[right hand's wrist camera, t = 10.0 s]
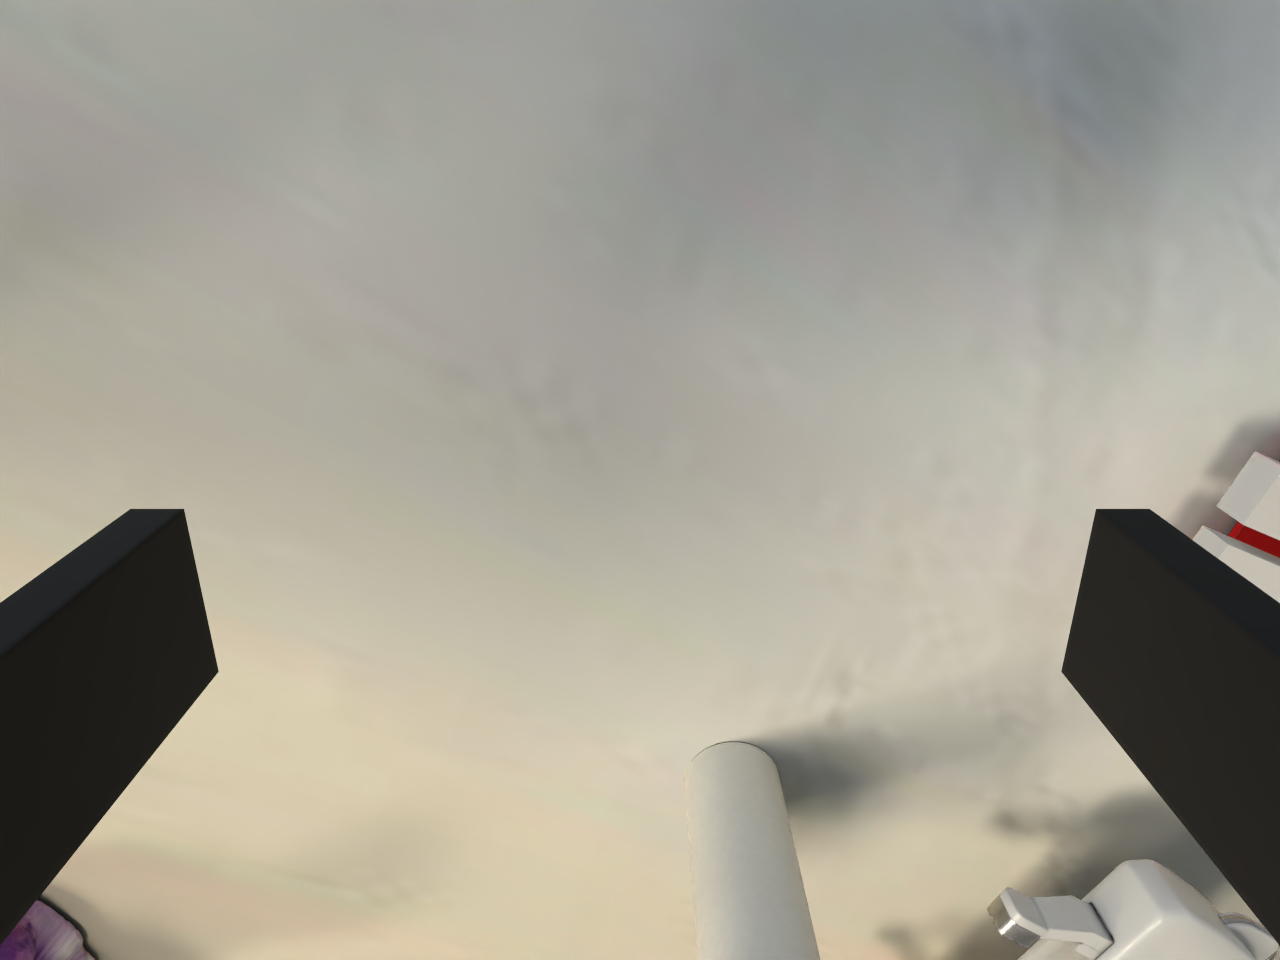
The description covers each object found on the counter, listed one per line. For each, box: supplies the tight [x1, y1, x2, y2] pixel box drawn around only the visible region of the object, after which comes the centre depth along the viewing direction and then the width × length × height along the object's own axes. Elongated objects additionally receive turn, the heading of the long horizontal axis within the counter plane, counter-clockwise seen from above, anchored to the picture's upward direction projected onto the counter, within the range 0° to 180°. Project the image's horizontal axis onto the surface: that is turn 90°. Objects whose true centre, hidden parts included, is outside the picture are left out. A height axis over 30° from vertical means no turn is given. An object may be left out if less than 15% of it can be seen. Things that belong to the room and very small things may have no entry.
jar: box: [685, 742, 820, 960], centre depth 39 cm, size 5×5×15 cm
